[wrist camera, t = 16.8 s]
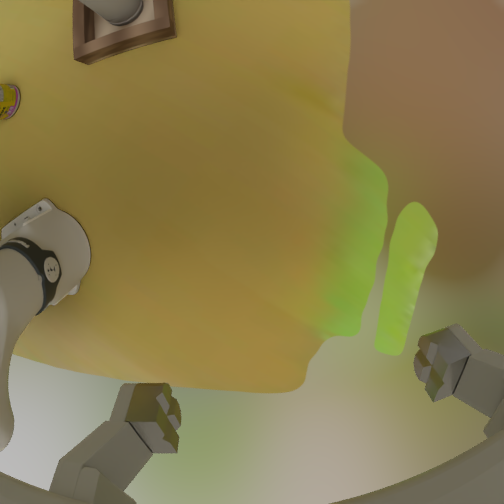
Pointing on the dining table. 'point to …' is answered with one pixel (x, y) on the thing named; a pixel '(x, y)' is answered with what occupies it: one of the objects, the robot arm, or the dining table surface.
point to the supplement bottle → (8, 100)
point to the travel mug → (116, 10)
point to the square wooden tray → (119, 31)
